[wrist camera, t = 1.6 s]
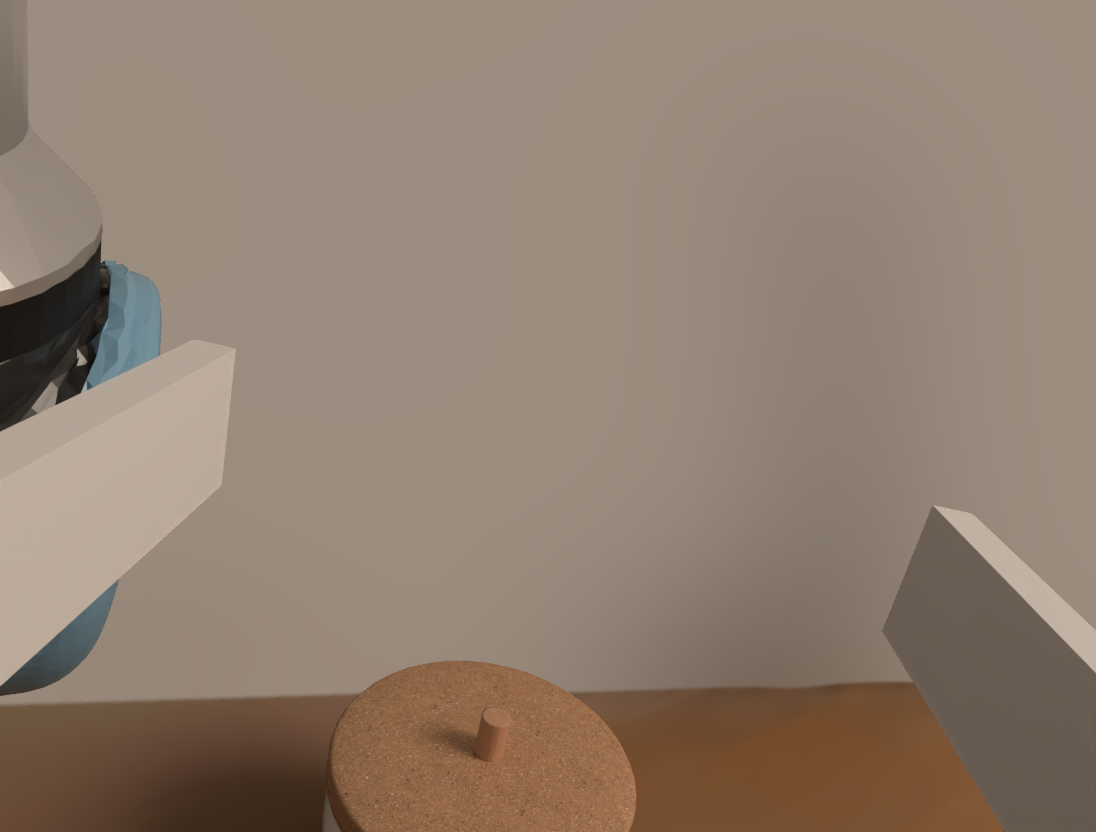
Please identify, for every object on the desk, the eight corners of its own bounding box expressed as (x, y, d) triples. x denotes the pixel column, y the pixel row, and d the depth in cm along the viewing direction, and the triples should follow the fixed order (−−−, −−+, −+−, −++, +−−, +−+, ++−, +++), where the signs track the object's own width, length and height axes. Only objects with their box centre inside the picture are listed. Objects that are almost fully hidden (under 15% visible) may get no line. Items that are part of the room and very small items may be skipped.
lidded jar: (480, 775, 38) (522, 602, 35) (643, 968, 31) (713, 769, 28) (252, 870, 31) (281, 663, 28) (394, 1148, 24) (453, 908, 21)
